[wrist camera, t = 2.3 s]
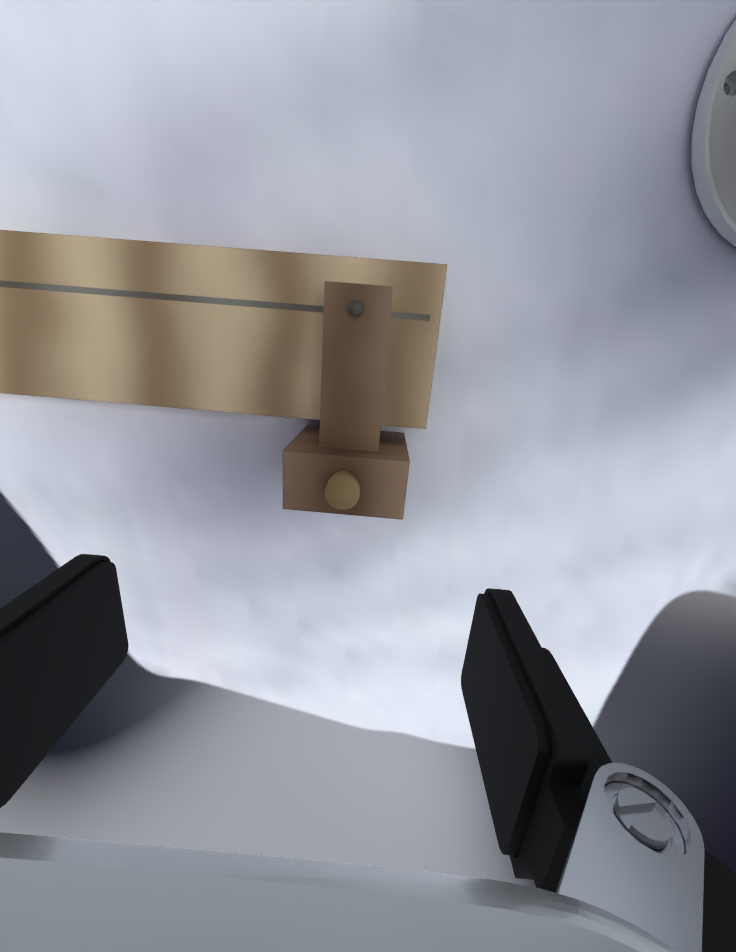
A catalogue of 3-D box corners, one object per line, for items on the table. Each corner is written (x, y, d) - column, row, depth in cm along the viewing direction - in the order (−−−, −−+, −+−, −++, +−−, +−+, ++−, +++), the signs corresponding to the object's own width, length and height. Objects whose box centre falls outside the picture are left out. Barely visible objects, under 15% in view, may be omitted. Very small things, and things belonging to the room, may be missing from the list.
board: (440, 273, 20) (447, 264, 18) (421, 420, 23) (426, 428, 21) (-67, 234, 21) (-125, 220, 18) (-27, 382, 24) (-74, 386, 21)
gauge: (418, 300, 21) (433, 280, 14) (397, 485, 25) (402, 538, 18) (310, 291, 21) (276, 268, 14) (306, 477, 25) (277, 527, 18)
